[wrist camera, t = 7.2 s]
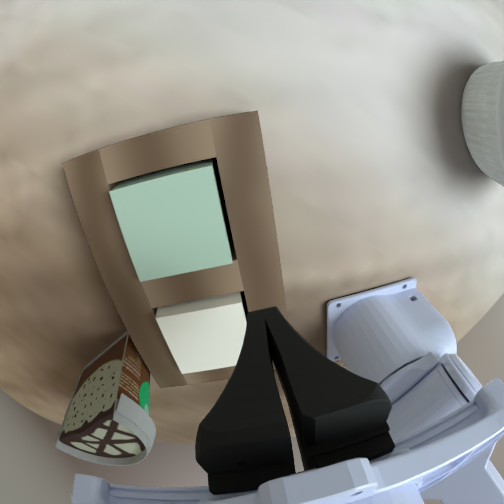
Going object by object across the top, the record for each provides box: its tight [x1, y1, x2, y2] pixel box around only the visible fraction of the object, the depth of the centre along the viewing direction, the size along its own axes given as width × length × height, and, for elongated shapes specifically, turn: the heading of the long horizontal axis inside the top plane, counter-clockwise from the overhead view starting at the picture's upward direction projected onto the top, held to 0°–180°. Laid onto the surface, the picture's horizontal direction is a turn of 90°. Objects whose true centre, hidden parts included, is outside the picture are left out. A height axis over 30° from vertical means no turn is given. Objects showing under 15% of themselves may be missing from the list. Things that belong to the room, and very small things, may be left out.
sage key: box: [109, 159, 233, 282], centre depth 17 cm, size 6×6×2 cm
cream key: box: [156, 292, 247, 374], centre depth 22 cm, size 6×6×2 cm
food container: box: [55, 331, 156, 466], centre depth 22 cm, size 12×6×10 cm, turn 128°
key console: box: [62, 111, 288, 388], centre depth 21 cm, size 12×20×3 cm, turn 9°
